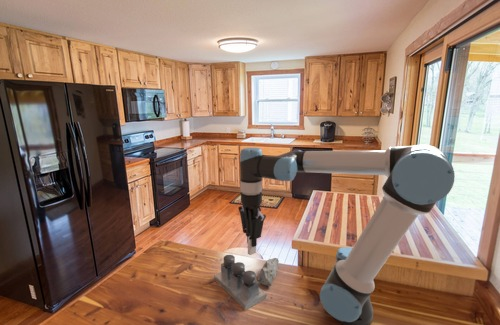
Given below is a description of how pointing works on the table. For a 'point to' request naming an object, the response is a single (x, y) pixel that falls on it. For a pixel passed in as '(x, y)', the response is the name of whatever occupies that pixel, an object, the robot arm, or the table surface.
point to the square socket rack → (239, 287)
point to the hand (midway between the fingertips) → (251, 253)
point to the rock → (268, 272)
